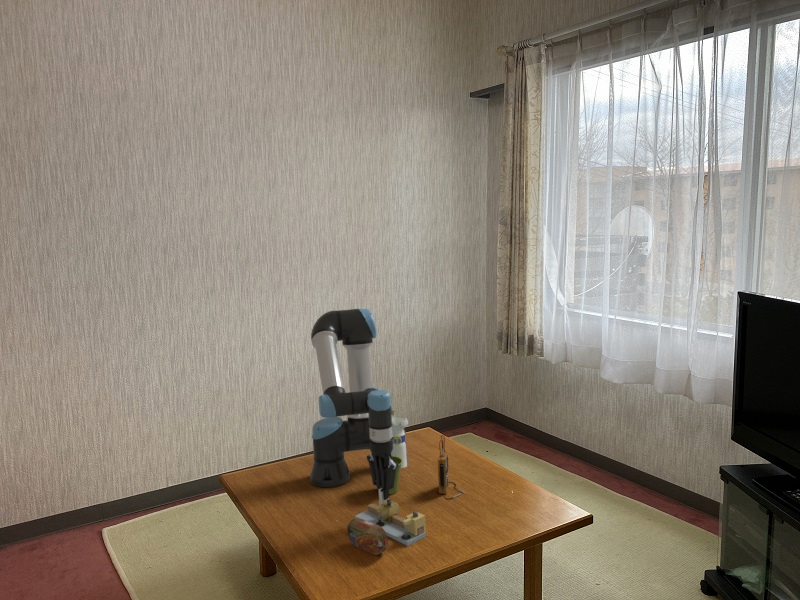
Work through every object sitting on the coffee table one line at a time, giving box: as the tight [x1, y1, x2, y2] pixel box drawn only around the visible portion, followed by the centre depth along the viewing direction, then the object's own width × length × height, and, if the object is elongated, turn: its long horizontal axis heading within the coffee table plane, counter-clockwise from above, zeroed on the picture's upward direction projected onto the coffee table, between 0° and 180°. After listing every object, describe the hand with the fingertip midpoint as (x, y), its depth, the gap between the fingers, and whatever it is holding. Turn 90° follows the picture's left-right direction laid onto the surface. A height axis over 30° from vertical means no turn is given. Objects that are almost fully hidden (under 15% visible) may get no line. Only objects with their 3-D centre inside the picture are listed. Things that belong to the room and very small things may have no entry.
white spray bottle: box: [391, 407, 409, 469], centre depth 248 cm, size 8×9×25 cm
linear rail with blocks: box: [354, 503, 427, 547], centre depth 199 cm, size 25×8×8 cm, turn 44°
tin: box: [347, 518, 389, 556], centre depth 186 cm, size 15×3×8 cm, turn 48°
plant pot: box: [389, 456, 403, 495], centre depth 226 cm, size 12×12×11 cm
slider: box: [377, 499, 400, 524], centre depth 201 cm, size 4×7×6 cm, turn 134°
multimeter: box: [437, 434, 467, 500], centre depth 223 cm, size 15×10×20 cm
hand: (384, 507), depth 204 cm, fingers closed
